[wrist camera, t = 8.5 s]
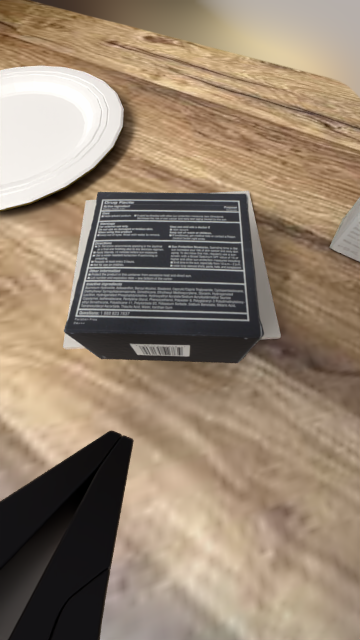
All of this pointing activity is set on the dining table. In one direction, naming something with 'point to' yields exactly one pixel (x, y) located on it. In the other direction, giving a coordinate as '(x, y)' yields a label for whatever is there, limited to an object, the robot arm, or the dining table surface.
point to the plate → (52, 130)
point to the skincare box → (349, 234)
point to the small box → (168, 279)
